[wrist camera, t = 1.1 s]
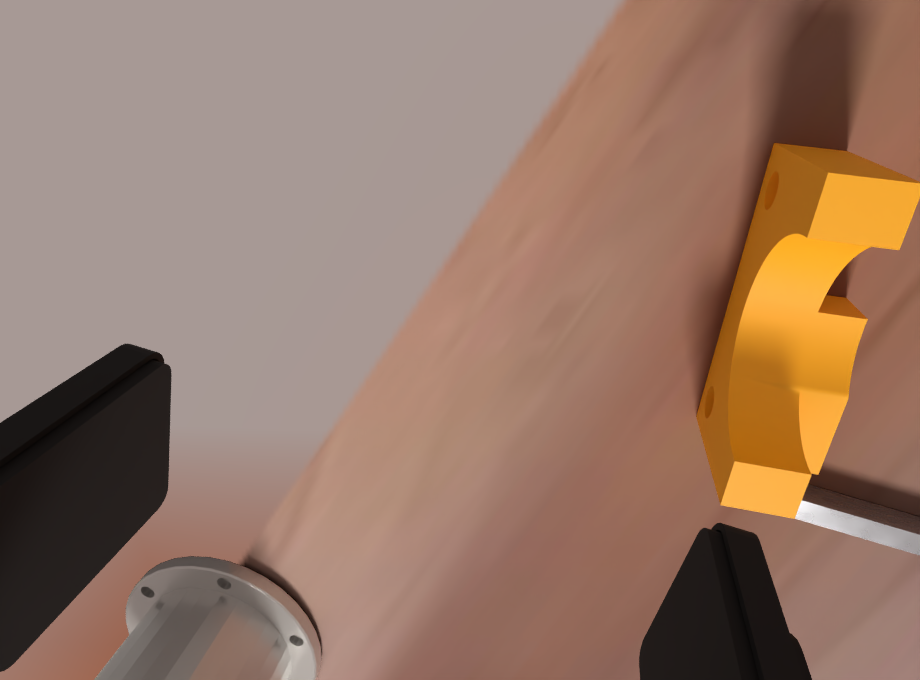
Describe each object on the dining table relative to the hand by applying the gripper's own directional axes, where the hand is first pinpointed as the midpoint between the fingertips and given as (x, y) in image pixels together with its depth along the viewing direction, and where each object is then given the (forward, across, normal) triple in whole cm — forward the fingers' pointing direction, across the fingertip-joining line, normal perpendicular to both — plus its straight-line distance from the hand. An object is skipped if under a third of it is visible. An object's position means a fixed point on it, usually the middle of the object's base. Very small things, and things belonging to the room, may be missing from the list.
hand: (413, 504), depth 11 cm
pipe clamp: (+19, -11, 0) cm, 22 cm away
